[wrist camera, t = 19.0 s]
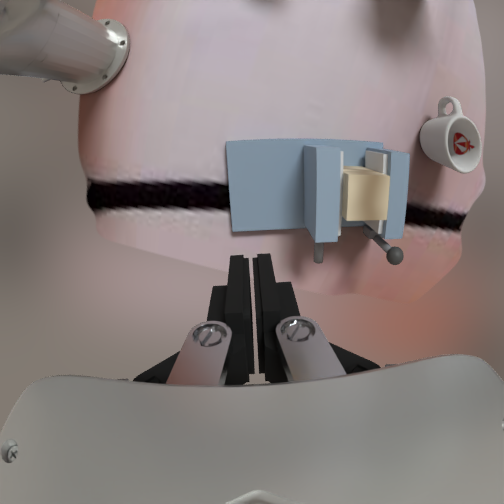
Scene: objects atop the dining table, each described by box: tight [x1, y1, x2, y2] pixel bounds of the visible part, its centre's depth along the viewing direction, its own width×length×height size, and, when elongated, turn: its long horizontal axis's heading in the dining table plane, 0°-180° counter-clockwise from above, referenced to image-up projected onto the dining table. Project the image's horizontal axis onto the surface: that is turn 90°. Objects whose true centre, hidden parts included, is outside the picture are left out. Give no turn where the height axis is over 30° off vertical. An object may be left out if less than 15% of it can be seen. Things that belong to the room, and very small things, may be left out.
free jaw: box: [303, 145, 343, 263], centre depth 31 cm, size 3×14×7 cm, turn 3°
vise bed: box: [226, 139, 410, 265], centre depth 31 cm, size 21×14×10 cm
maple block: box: [342, 166, 390, 221], centre depth 30 cm, size 5×5×8 cm
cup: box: [420, 96, 482, 173], centre depth 27 cm, size 11×8×8 cm
